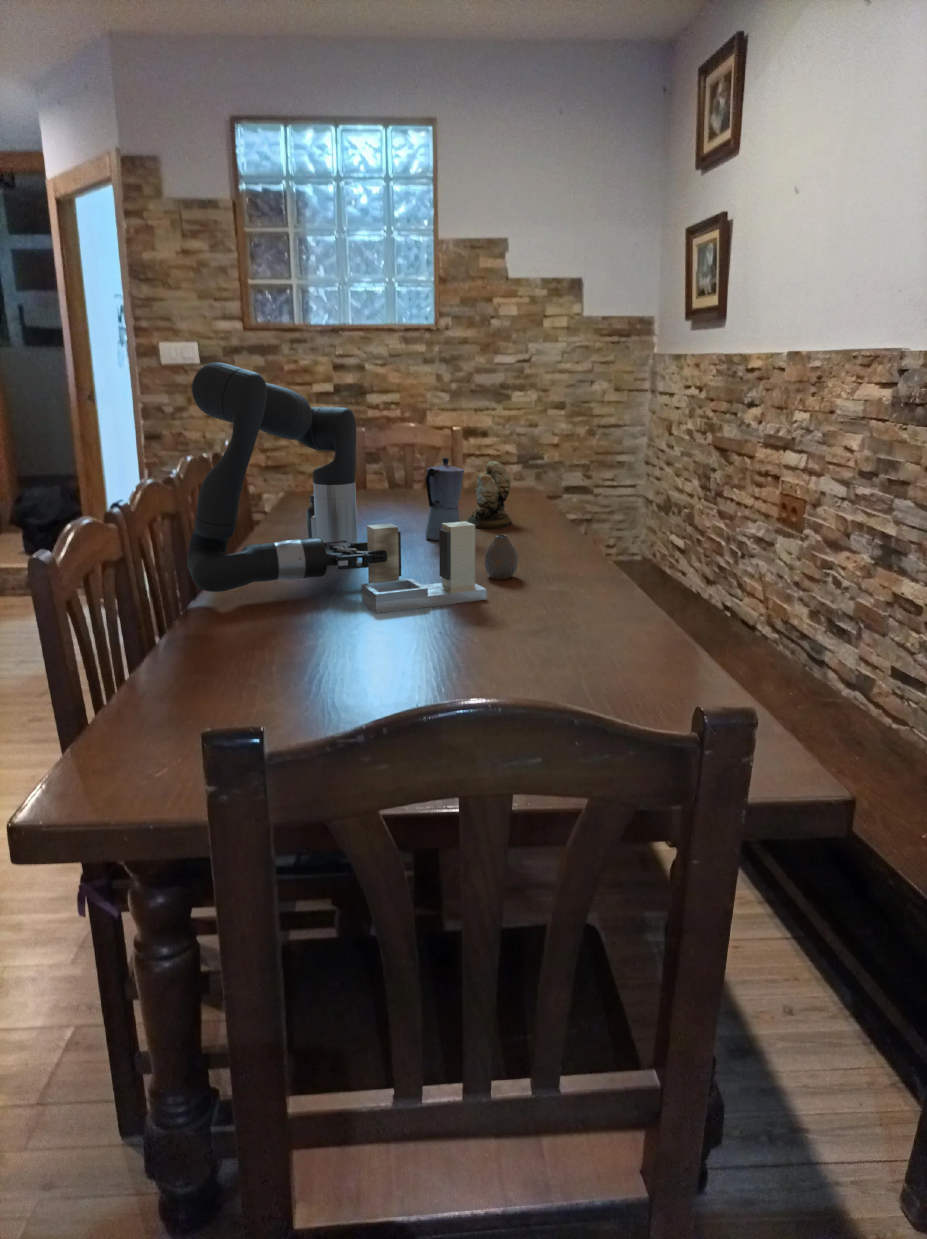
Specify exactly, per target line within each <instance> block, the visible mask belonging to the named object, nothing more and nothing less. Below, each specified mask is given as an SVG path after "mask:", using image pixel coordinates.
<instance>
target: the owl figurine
mask: <svg viewBox="0 0 927 1239" xmlns="http://www.w3.org/2000/svg"><path fill="white" fill-rule="evenodd" d="M507 472H508V471H507V469H506V468H505V465H503V464H502V463H501V462H499V461H497V460H493V461H489V462H488V463H487V464H486V467H485V471H484V473H480V474H479V475H478V476H477V480H476V488H475V489H474V490H475V493H476V503H477V506H476V508H475V510H474V511H472V514H471V516H470V517H469V518H468V519H467V520H466V521H467V522H469V523H472V524H474V525H475V529H481V530H496V529H502V528H506V527H509V526H510V525H511V524H512V518H511V517H510V516H509V515H508V513H507V512H506V510H505V503H504V502H507V498H508V496H509V495H510V491H511V490H510V489H511V482H512V481H511V477H510V475H508V473H507Z"/></svg>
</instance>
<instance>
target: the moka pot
mask: <svg viewBox="0 0 927 1239" xmlns="http://www.w3.org/2000/svg"><path fill="white" fill-rule="evenodd" d="M449 461H450V459H449V458H448V457H444V458H442V464H441V465H435V466H434V465H433V466H432V467H427V468H426V476H425V479H424V480H425V485H426V486H425V487H426V493H427V498H428V505H429V512H428V516H427V524H426V529H425V534H424V535H425V538H426V539H430V540H433V541H439V529H442V523H452V522H460V514H459V513H460V511H459V509H458V508H459V501H460V499H461V493H462V485H463V479H464V474H465V470H464V469H463V468H460V467H457V466H454V465H449Z"/></svg>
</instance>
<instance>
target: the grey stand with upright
mask: <svg viewBox="0 0 927 1239" xmlns="http://www.w3.org/2000/svg"><path fill="white" fill-rule="evenodd" d="M438 541H439V542H438V543H439V545H438V546H439V577H441V582H436V583H428V584H422V583H419V582H418V581H416V580H415V579H413V578H403V579H399V580H393V581H384V582H375V583H369V582H368V583H361V584H360V589H361V591H360V592H361V593H360V594H361V595H360V596H361V603H362V604H363V605H365V606H366V607H367V608H368V609H370V610H371V611H373V612H374V613H375V614H382V612H383V613H390V612H391V613H392V612H398V611H404V610H405V611H406V610H414V609H421V608H429V607H430V608H431V607H439V606H444V605H453V604H461V603H469V602H478V601H484V600H487V598H488V594H487V592H488V590H487V588H485V587H483V586H482V585H479V584H477V582H476V528H475V525H474V524H472V523H469V522H467V520H465V521H459V522H452V523H442V529H439V540H438Z"/></svg>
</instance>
